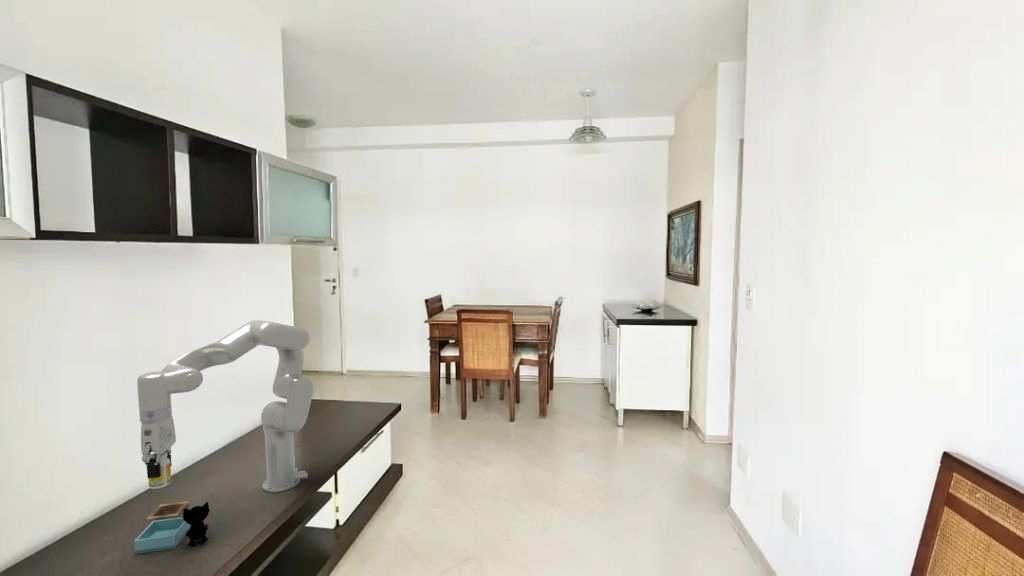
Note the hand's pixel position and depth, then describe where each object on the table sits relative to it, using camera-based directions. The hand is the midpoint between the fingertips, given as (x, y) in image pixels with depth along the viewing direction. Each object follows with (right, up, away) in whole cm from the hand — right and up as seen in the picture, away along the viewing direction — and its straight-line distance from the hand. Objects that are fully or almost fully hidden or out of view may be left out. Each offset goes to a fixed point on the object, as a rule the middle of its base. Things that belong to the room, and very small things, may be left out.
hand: (159, 471), depth 135 cm
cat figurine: (+11, -22, 0) cm, 25 cm away
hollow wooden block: (-6, -21, +12) cm, 25 cm away
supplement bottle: (0, -4, 0) cm, 4 cm away
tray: (0, -21, +1) cm, 21 cm away
